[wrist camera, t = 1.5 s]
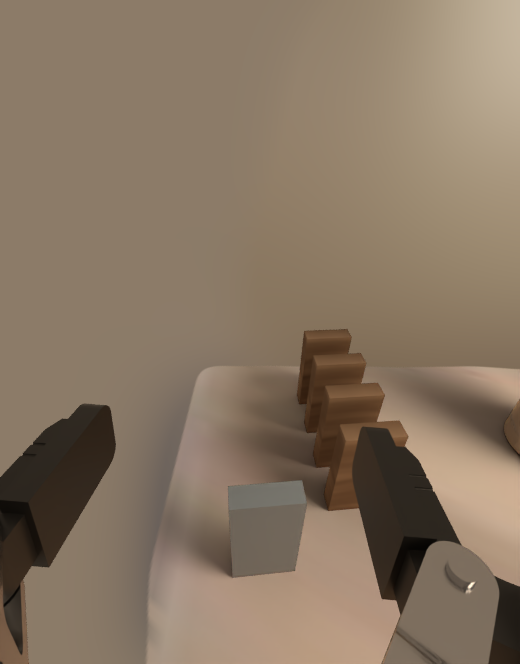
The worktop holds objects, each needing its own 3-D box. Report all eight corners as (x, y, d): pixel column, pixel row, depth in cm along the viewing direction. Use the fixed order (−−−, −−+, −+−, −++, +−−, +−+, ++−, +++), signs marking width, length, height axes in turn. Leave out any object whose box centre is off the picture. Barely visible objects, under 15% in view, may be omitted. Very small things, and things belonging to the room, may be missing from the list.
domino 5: (380, 506, 32) (408, 436, 26) (328, 510, 31) (345, 441, 26) (373, 490, 33) (399, 420, 27) (323, 494, 33) (339, 424, 27)
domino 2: (338, 401, 43) (351, 337, 37) (299, 404, 42) (307, 339, 37) (334, 392, 44) (347, 329, 39) (296, 395, 44) (304, 330, 38)
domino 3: (349, 429, 39) (366, 363, 34) (307, 432, 39) (317, 365, 33) (345, 419, 40) (360, 353, 35) (304, 422, 40) (313, 355, 34)
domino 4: (363, 464, 35) (385, 395, 30) (316, 467, 35) (329, 398, 29) (357, 451, 37) (377, 382, 31) (313, 454, 36) (325, 385, 31)
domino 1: (294, 570, 27) (307, 503, 22) (232, 577, 27) (228, 510, 21) (291, 549, 28) (301, 480, 23) (231, 555, 28) (228, 486, 22)
